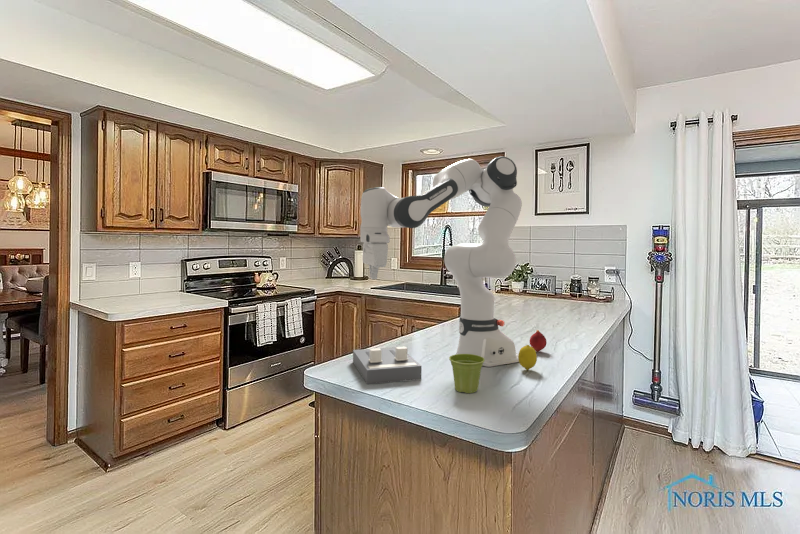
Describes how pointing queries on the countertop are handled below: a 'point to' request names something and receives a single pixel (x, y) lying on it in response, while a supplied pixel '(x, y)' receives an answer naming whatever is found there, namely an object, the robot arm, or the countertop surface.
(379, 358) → the block
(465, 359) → the plant pot
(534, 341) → the onion
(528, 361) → the lemon
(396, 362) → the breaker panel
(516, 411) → the countertop surface
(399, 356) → the block
